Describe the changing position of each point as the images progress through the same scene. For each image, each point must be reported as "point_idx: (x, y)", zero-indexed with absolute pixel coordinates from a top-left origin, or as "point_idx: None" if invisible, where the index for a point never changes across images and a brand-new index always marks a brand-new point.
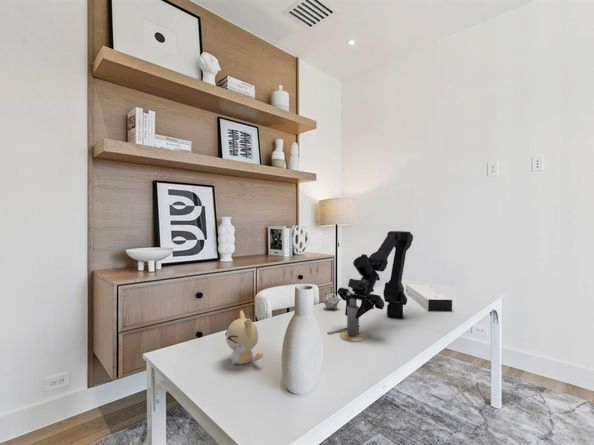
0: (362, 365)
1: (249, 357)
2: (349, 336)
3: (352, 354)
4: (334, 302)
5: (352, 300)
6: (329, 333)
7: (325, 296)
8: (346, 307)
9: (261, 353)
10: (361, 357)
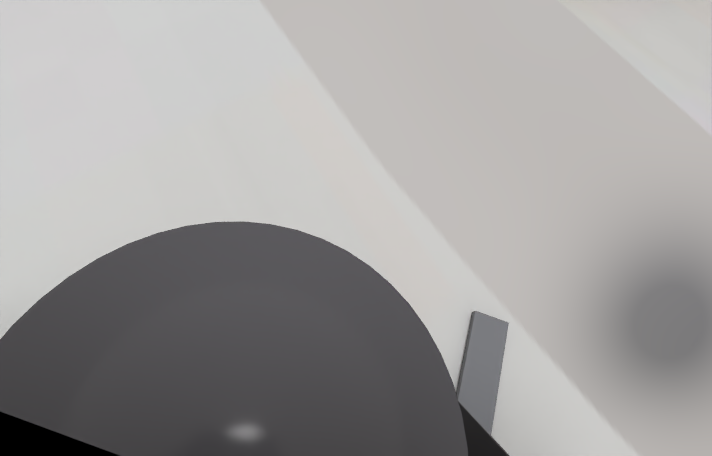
0: (34, 13)
1: None
2: None
3: (144, 101)
4: None
5: (182, 237)
6: (482, 316)
7: None
8: (474, 436)
9: None
10: (68, 92)
